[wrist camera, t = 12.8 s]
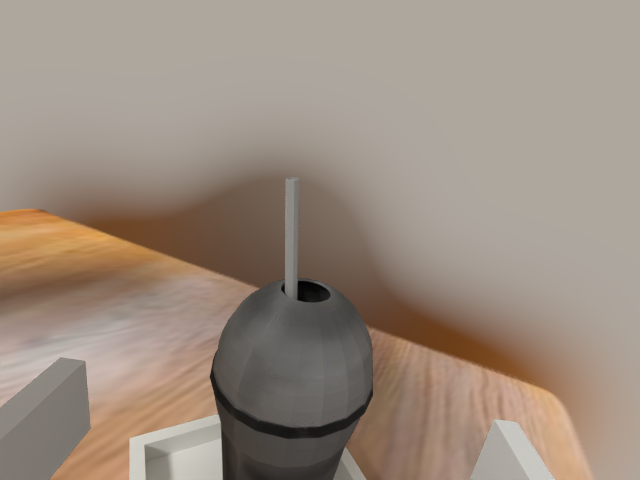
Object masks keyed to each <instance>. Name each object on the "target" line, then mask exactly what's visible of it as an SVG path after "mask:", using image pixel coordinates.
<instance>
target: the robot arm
mask: <svg viewBox="0 0 640 480" xmlns="http://www.w3.org/2000/svg"><path fill="white" fill-rule="evenodd" d="M90 429H91V426H90V414H89V401H88V389H87V376H86V364H85V361H81V360H74V359H67V358H59V359H58V360H57V361H56V362H55V363H53V364H52V365H51V366H50V367H49V368H47V369H46V370H45V371H44V372H43V373H41V374H40V375H39V376H38V377H37V378H35V379H34V380H33V381H32V382H31V383H29V384H28V385H27V386H26V387H25V388H23V389H22V390H21V391H20V392H19V393H17V394H16V395H15V396H14V397H13V398H11V399H10V400H9V401H8V402H7V403H5V404H4V405H3V406H2V407H1V408H0V480H49V479H50V478H51V477H52V476H53V474H54V473H55V472H56V471H57V469H58V468H59V467H60V466H61V465H62V463H63V462H64V461H65V460H66V458H67V457H68V456H69V455H70V453H71V452H72V451H73V450H74V448H75V447H76V446H77V445H78V443H79V442H80V441H81V440H82V439H83V437H84V436H85V435H86V434H87V432H88V431H89V430H90ZM470 480H555V479H554V477H553V476H552V474H551V473H550V471H549V470H548V468H547V467H546V465H545V464H544V462H543V461H542V459H541V458H540V456H539V455H538V453H537V452H536V450H535V448H534V447H533V445H532V444H531V442H530V441H529V439H528V438H527V436H526V435H525V433H524V432H523V430H522V429H521V427H520V426H519V424H518V423H517V422H511V421H504V420H497V419H494V421H493V423H492V426H491V428H490V431H489V433H488V436H487V438H486V441H485V443H484V445H483V448H482V450H481V453H480V455H479V458H478V460H477V463H476V465H475V468H474V470H473V473H472V475H471V478H470Z"/></svg>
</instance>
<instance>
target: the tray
mask: <svg viewBox="0 0 640 480" xmlns="http://www.w3.org/2000/svg"><path fill="white" fill-rule="evenodd" d="M130 480H223V471H222V443H221V422H220V418H219V415H218V414H216V415H213V416H209V417H205V418H202V419H198V420H194V421H191V422H187V423H183V424H180V425H176V426H172V427H169V428H165V429H161V430H158V431H154V432H150V433H147V434H143V435H139V436H136V437H132V438H130ZM333 480H366V478H365V477H364V475H363V473H362V472H361V470H360V469H359V467H358V465H357V464H356V462H355V461H354V459H353V457H352V456H351V454H350V453H349V451H348V449H347V448H346V446H345V448H344V451H343V454H342V456H341V459H340V462H339V465H338V468H337V470H336V473H335V476H334V479H333Z"/></svg>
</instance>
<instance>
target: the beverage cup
mask: <svg viewBox="0 0 640 480" xmlns="http://www.w3.org/2000/svg"><path fill="white" fill-rule="evenodd" d="M298 223H299V178H286V216H285V232H286V233H285V279H283V280H280V281H276V282H273V283H269V284H268V285H266V286H264V287H262V288H261V289H259V290H257V291H255V292H254V293H252V294H251V295H250V296H248V297H247V298H246V299H245V300H244V301H243V302H242V303H241V305H240V306H239V307H238V308H237V310H236V311H235V312H234V313H233V315H232V316H231V317H230V319H229V320H228V322H227V324H226V326H225V327H224V329H223V332H222V335H221V337H220V340H219V345H218V350H217V351H216V353H215V356H214V359H213V364H212V369H211V374H210V379H211V383H212V386H213V390H214V395H215V400H216V405H217V411H218V415H219V418H220V422H221V443H222V471H223V480H333V479H334V476H335V473H336V470H337V468H338V465H339V462H340V459H341V456H342V454H343V451H344V448H345V445H346V443H347V442H348V440H349V438H350V436H351V435H352V433H353V431H354V429H355V427H356V425H357V423H358V421H359V419H360V417H361V416H362V415H363V414H364V413H365V411H366V409H367V407H368V405H369V402H370V400H371V398H372V396H373V380H372V377H373V362H372V344H371V339H370V335H369V333H368V330H367V328H366V325H365V323H364V322H363V320H362V318H361V316H360V314H359V313H358V311H357V309H356V308H355V306H354V305H353V304H352V303H351V302H350V301H349V300H348V299H347V298H346V297H345V296H344V295H343V294H342V293H340V292H339V291H337V290H336V289H334V288H333V287H331V286H329V285H327V284H325V283H322V282H319V281H316V280H311V279H305V278H298Z"/></svg>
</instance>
